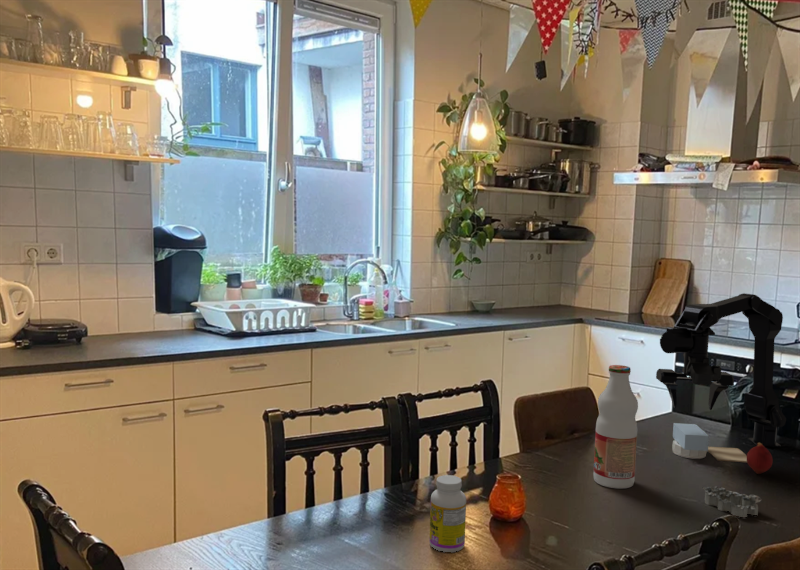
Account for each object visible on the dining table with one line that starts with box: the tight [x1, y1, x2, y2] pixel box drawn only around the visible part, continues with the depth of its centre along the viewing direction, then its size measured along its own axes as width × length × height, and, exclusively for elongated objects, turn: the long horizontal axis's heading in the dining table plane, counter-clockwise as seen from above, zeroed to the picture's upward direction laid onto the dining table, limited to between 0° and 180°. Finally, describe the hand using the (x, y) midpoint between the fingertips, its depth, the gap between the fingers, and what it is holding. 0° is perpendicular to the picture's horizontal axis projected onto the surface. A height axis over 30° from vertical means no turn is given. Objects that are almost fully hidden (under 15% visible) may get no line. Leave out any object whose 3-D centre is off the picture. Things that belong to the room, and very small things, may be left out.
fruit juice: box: [593, 364, 639, 490], centre depth 163 cm, size 9×9×28 cm
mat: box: [707, 446, 747, 463], centre depth 187 cm, size 11×9×1 cm
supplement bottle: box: [428, 474, 467, 553], centre depth 128 cm, size 7×7×13 cm
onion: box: [746, 443, 774, 475], centre depth 172 cm, size 6×6×8 cm
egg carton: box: [702, 485, 763, 518], centre depth 150 cm, size 11×8×4 cm
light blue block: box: [672, 422, 710, 452], centre depth 187 cm, size 11×6×4 cm, turn 173°
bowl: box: [671, 439, 708, 460], centre depth 187 cm, size 8×8×3 cm
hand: (692, 408), depth 186 cm, fingers open, 9 cm apart
